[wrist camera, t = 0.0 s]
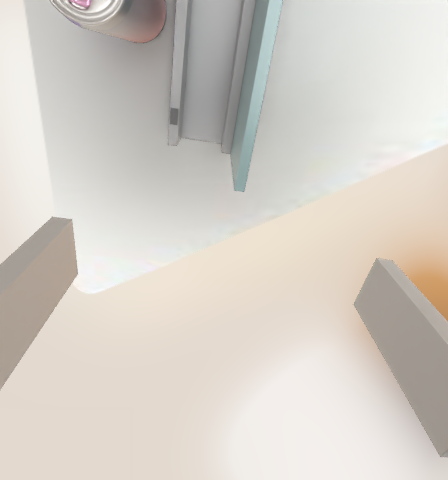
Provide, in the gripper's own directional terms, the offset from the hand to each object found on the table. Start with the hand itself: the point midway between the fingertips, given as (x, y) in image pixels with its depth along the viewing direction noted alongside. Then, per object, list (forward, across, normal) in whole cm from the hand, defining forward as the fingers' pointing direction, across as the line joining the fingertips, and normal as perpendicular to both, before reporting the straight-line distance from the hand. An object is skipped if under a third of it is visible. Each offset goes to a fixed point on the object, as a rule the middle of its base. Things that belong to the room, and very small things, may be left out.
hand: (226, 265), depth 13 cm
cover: (+18, +1, +9) cm, 20 cm away
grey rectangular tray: (+28, -2, +9) cm, 30 cm away
